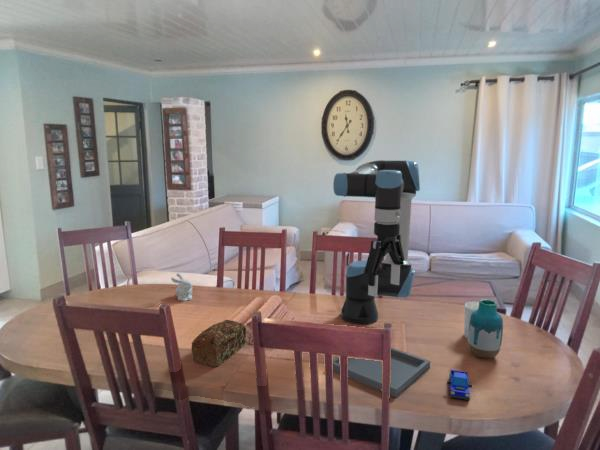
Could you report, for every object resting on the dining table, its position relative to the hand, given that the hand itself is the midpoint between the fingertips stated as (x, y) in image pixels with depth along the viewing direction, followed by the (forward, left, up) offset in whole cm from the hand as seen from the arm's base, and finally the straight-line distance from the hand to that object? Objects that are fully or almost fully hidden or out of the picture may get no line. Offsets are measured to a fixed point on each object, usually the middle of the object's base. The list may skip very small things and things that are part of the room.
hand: (384, 289), depth 137 cm
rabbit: (-100, -4, -27) cm, 104 cm away
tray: (0, 0, -27) cm, 27 cm away
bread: (-47, -27, -27) cm, 61 cm away
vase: (+22, +31, -27) cm, 46 cm away
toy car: (+24, +5, -27) cm, 36 cm away
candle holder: (+15, +44, -27) cm, 53 cm away
